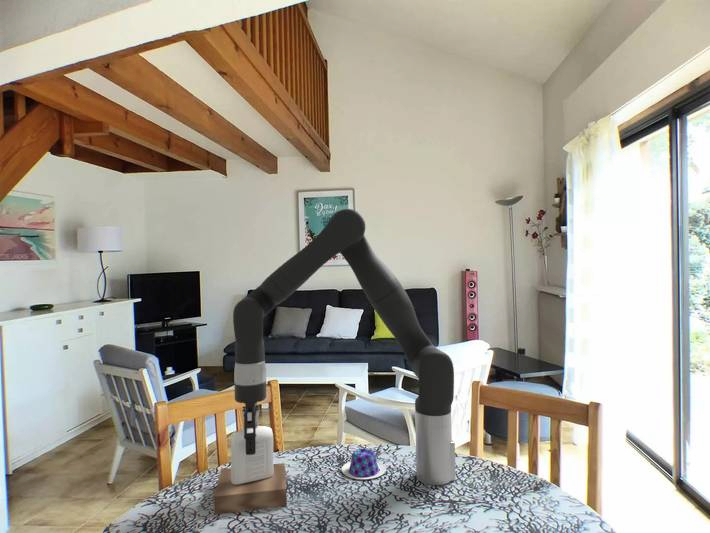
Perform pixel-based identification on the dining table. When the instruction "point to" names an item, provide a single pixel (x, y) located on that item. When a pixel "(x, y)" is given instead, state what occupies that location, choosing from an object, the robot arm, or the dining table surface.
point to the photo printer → (252, 456)
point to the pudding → (363, 465)
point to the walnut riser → (250, 492)
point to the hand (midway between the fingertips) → (251, 447)
